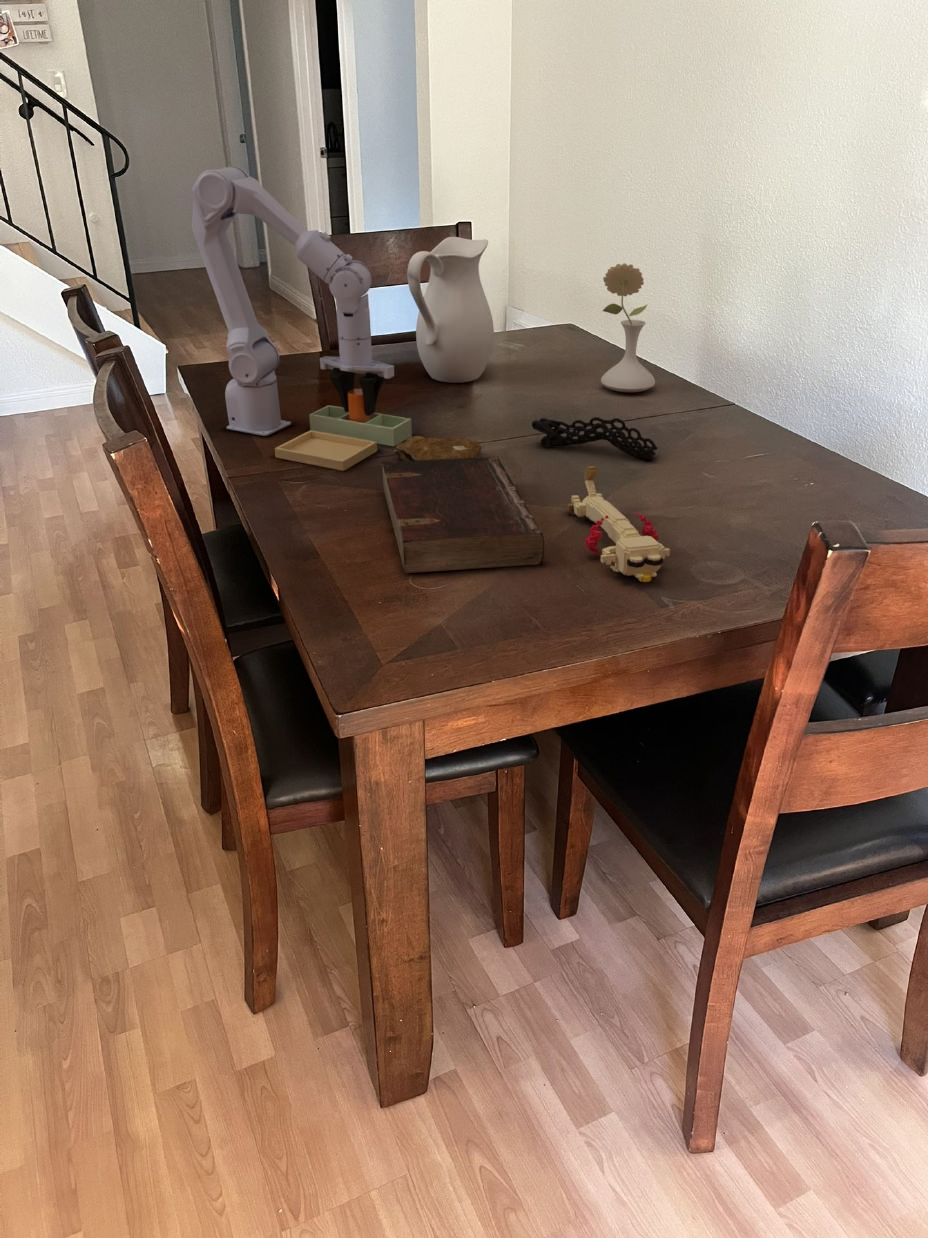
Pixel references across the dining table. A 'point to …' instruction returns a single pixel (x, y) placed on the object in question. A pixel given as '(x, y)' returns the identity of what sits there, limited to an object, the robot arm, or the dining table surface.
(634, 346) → the flower in vase
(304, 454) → the birch tray
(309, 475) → the dining table surface
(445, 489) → the hardback book
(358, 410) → the orange cylinder
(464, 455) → the decorative rock
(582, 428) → the decorative element
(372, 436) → the green compartment tray
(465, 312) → the pitcher
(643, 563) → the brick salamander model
